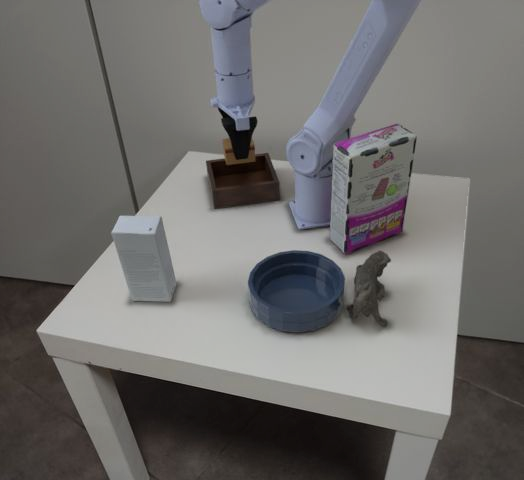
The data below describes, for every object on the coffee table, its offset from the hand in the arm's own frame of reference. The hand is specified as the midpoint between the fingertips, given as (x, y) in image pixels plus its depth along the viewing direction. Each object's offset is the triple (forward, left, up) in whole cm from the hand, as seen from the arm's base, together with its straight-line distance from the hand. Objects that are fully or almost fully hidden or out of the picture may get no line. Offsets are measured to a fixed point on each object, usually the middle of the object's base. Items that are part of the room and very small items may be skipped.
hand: (239, 152), depth 93 cm
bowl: (-3, +31, -7) cm, 32 cm away
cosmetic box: (+17, +25, -7) cm, 31 cm away
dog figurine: (-13, +34, -7) cm, 37 cm away
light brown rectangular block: (0, 0, -1) cm, 1 cm away
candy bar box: (-17, +19, -7) cm, 26 cm away
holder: (0, 0, -7) cm, 7 cm away
